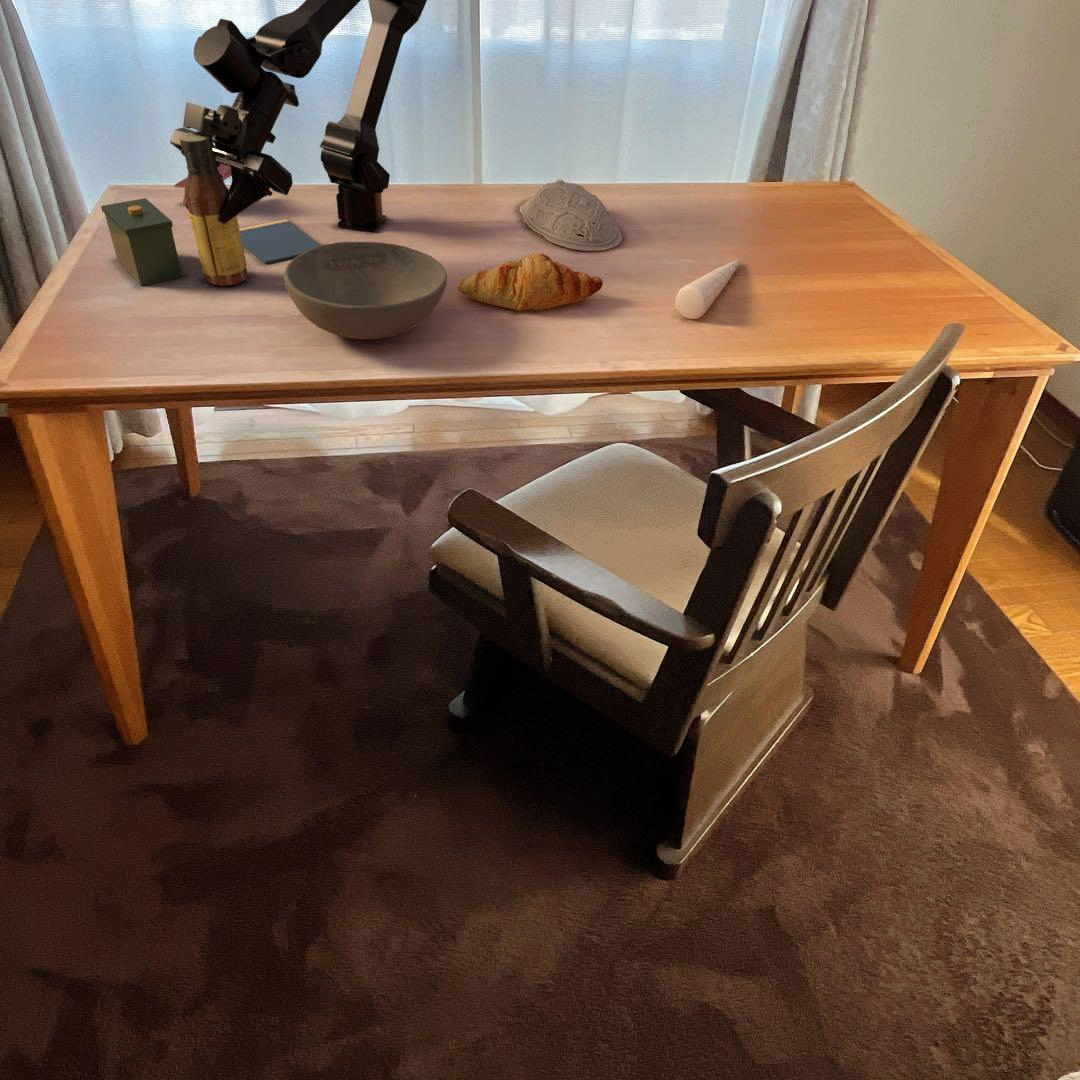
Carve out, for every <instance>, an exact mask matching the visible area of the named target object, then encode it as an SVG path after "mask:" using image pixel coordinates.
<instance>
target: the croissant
mask: <svg viewBox="0 0 1080 1080" xmlns="http://www.w3.org/2000/svg"><path fill="white" fill-rule="evenodd" d="M603 283H604V281H603V280H602V278H601V277H599V276H589V274H587V273H586V272H583V271H580V270H576V271H573V269H570V267H569V266H568V265H566V264H563V263H560V262H558V261H554V260H553V259H552V258H551V257H550V256H549V255H547V254H544V253H540V252H533V253H530V254H527V255H525V256H522V257H521V258H520V259H519V260H518V261H517V260H513V261H512V260H510V261H505V262H502V263H499V264H498V265H497V266H496V267H495V268H491V269H487V270H479V271H477V272H475V273H474V274H472V275H471V276H470V277H469V278H461V279H459V281H458V282H457V283H456V286H457V291H458V292H459V293H461V294H462V295H464V296H465V297H468V298H469V299H473V300H476V301H478V302H481V303H484V304H489V305H493V306H495V307H500V308H506V309H510V310H514V311H525V310H527V311H541V310H549V309H552V308H554V307H559V306H563V305H567V304H568V305H569V304H574V303H577V302H581V301H584V300H587V299H588V298H590V297H592V296H593V295H595V294H596V293H598V292H599V291H601V290H602V287H603Z"/></svg>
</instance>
